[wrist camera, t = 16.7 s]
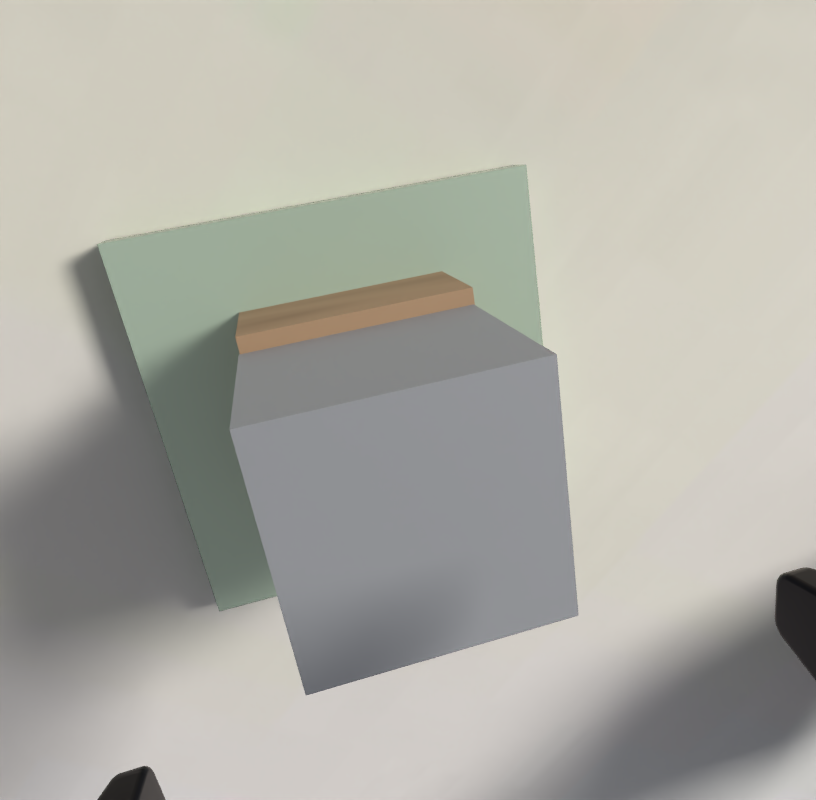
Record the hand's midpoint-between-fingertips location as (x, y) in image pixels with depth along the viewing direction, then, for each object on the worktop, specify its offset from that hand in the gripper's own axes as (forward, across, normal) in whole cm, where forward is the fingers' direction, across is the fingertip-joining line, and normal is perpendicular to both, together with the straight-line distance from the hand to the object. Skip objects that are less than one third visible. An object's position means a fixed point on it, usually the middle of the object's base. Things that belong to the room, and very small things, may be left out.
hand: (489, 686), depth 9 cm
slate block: (+9, 0, 0) cm, 9 cm away
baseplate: (+13, 0, 0) cm, 13 cm away
